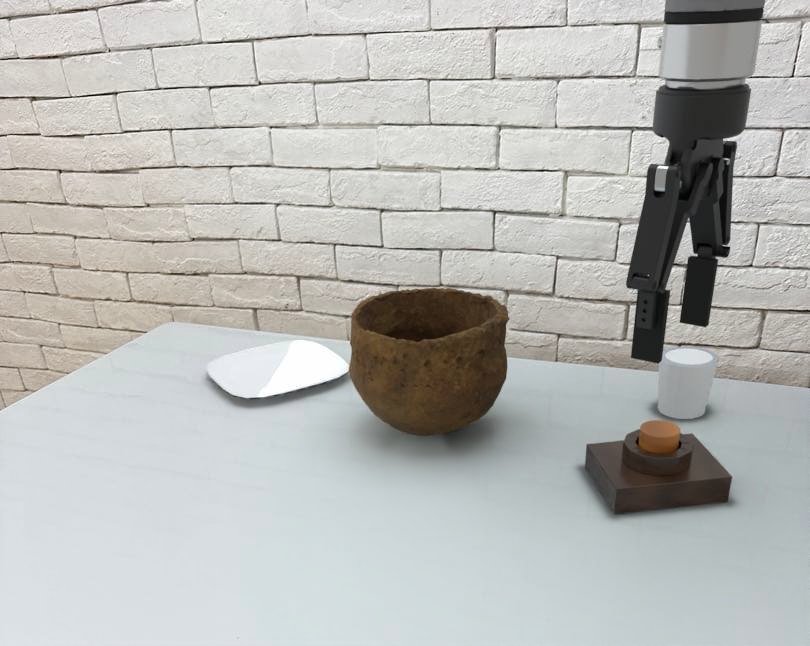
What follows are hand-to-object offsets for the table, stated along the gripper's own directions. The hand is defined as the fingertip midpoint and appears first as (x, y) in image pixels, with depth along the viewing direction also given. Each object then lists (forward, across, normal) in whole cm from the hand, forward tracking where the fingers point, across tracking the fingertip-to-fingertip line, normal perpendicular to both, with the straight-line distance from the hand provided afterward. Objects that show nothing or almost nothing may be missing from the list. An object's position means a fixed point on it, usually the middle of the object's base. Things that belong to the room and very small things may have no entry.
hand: (671, 341), depth 82 cm
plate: (+16, 0, -56) cm, 59 cm away
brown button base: (+16, 0, 0) cm, 16 cm away
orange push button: (+11, 0, 0) cm, 11 cm away
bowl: (+16, +2, -28) cm, 33 cm away
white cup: (+16, -19, -5) cm, 25 cm away
